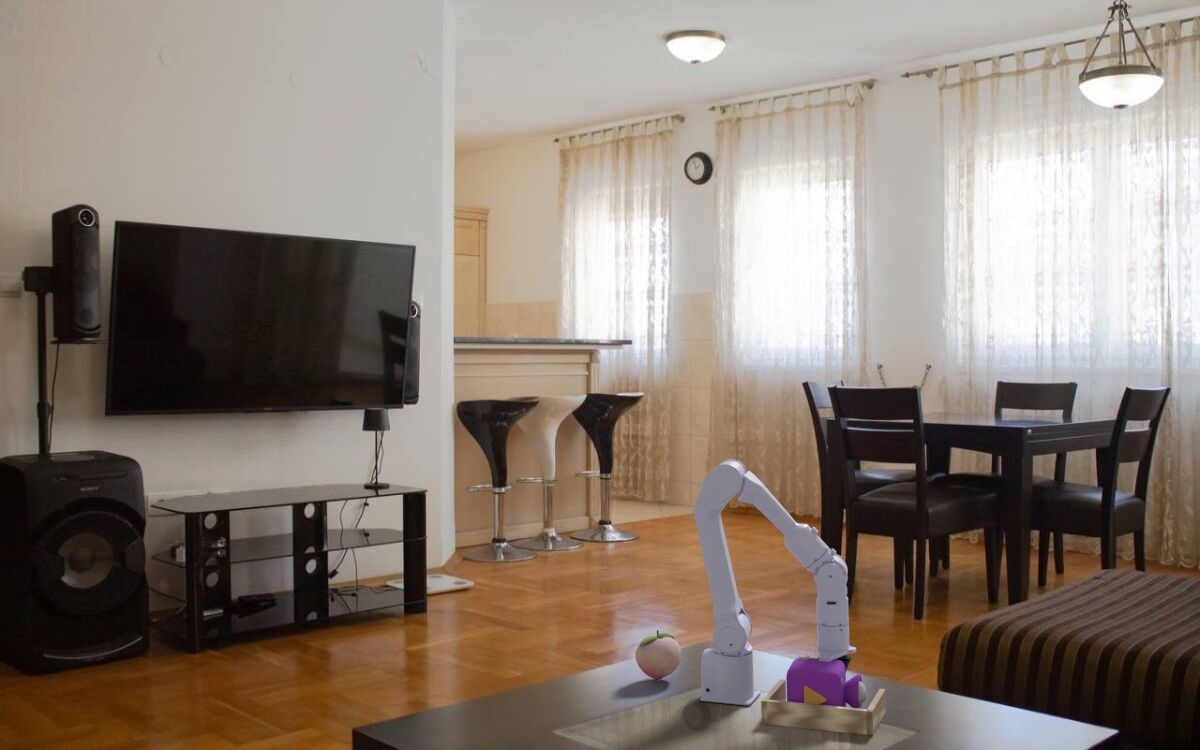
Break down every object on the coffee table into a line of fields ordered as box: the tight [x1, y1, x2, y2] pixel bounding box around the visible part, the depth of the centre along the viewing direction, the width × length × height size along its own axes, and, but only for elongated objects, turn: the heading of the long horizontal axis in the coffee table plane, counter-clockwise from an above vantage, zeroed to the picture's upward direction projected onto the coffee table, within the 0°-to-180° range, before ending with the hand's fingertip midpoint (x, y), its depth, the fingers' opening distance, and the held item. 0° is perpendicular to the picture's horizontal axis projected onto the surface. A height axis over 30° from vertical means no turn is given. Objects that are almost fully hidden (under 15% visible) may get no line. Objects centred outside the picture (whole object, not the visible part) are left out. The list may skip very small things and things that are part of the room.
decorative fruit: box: [634, 629, 682, 681], centre depth 220 cm, size 9×8×10 cm
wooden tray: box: [760, 679, 887, 736], centre depth 195 cm, size 19×13×4 cm
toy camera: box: [785, 654, 867, 709], centre depth 195 cm, size 11×14×10 cm
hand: (834, 697), depth 203 cm, fingers closed
